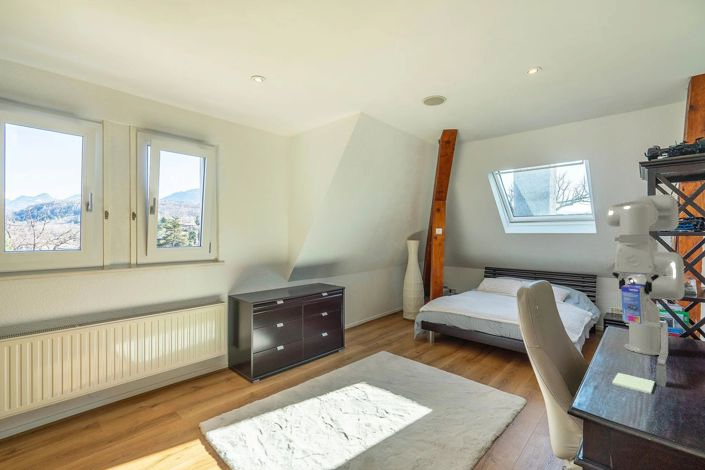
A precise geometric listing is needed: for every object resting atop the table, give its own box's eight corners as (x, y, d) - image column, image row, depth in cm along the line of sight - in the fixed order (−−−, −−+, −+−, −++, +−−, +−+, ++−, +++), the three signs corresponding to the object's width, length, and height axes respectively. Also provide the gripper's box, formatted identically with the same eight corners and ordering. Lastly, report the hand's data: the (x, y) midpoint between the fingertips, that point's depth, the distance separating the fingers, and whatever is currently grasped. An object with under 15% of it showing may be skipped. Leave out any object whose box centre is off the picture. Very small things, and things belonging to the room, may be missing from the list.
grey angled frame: (625, 345, 120) (625, 310, 120) (668, 353, 111) (667, 315, 111) (618, 355, 109) (617, 316, 110) (664, 364, 101) (663, 322, 101)
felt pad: (618, 374, 109) (618, 372, 109) (654, 383, 102) (654, 381, 102) (612, 384, 101) (612, 382, 101) (650, 394, 95) (650, 392, 95)
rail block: (657, 381, 104) (657, 362, 104) (666, 383, 102) (666, 364, 102) (656, 384, 101) (656, 365, 101) (665, 386, 99) (665, 367, 100)
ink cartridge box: (630, 316, 116) (630, 276, 116) (650, 320, 111) (650, 278, 111) (620, 320, 110) (620, 278, 110) (641, 324, 105) (641, 280, 105)
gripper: (600, 240, 115) (601, 291, 114) (668, 240, 102) (669, 297, 102) (605, 240, 120) (606, 288, 119) (670, 240, 107) (671, 294, 107)
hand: (635, 292), depth 111 cm, fingers closed on ink cartridge box, 5 cm apart
